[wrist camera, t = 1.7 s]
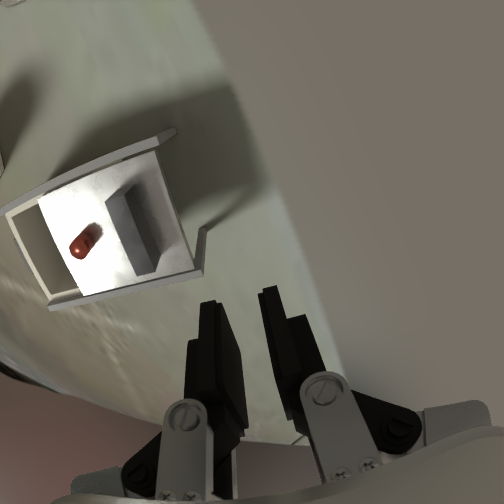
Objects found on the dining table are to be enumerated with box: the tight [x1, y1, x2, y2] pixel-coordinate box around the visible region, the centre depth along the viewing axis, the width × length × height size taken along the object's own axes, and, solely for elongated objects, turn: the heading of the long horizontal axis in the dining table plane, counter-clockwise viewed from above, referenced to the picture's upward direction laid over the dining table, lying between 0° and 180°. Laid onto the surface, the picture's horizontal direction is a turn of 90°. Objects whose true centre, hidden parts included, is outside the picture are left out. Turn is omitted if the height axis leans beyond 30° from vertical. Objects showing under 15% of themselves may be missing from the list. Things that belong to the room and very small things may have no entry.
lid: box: [37, 149, 195, 296], centre depth 23 cm, size 11×13×4 cm
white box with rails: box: [0, 127, 207, 311], centre depth 29 cm, size 14×22×10 cm, turn 102°
